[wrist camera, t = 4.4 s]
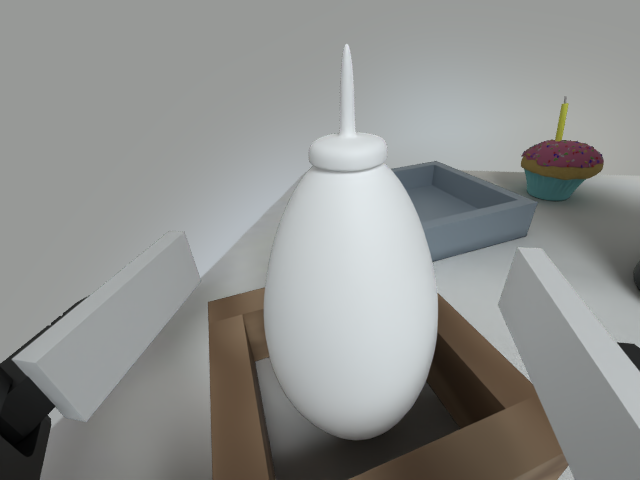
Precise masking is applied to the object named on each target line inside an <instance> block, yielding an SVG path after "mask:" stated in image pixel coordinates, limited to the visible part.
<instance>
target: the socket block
mask: <svg viewBox="0 0 640 480" xmlns="http://www.w3.org/2000/svg"><path fill="white" fill-rule="evenodd" d="M264 293H265V288H261V289H257V290H253V291H249V292H245V293H242V294H238V295H234V296H230V297H226V298H222V299H218V300H214V301H210V302H208V321H209V360H210V399H211V438H212V477H213V480H276V477H275V471H274V466H273V460H272V455H271V449H270V444H269V438H268V432H267V427H266V421H265V416H264V410H263V404H262V399H261V393H260V388H259V382H258V376H257V371H256V365H255V361H258V360H261V359H264V358H267V357H270V356H269V351H268V346H267V341H266V336H265V329H264ZM437 295H438V326H437V339H436V346H435V351H434V356H433V359H432V363H431V366H430V370H429V373H428V377H427V379H426V381H427V382H428V384H429V385H430V387H431V388H432V389H433V391H434V392H435V394H436V395H437V396H438V398H439V399H440V401H441V402H442V403H443V405H444V406H445V408H446V409H447V410H448V412H449V413H450V415H451V416H452V417H453V419H454V420H455V422H456V423H457V424H458V426H459V427H460V430H458V431H455V432H453V433H451V434H449V435H446V436H444V437H442V438H440V439H437V440H435V441H433V442H431V443H429V444H426V445H424V446H422V447H420V448H417V449H415V450H413V451H411V452H409V453H406V454H404V455H402V456H400V457H397V458H395V459H393V460H391V461H388V462H386V463H384V464H382V465H380V466H377V467H375V468H373V469H371V470H368V471H366V472H364V473H362V474H359V475H357V476H355V477H353V478H351V479H348V480H557V479H558V478H559V477H560V475H561V474H562V473H563V472H564V470H565V469H566V468H567V467H568V463H567V460H566V458H565V456H564V454H563V451H562V449H561V447H560V445H559V442H558V440H557V438H556V435H555V433H554V431H553V429H552V426H551V424H550V422H549V420H548V417H547V415H546V413H545V411H544V408H543V406H542V404H541V401H540V399H539V397H538V395H537V392H536V390H535V388H534V386H533V384H532V383H531V382H530V381H529V380H528V379H527V378H526V377H525V376H524V375H523V374H522V373H520V372H519V371H518V370H517V369H516V368H515V367H514V366H513V365H512V364H511V363H510V362H509V361H508V360H507V359H506V358H505V357H504V356H503V355H502V354H501V353H500V352H499V351H498V350H497V349H496V348H494V347H493V346H492V345H491V344H490V343H489V342H488V341H487V340H486V339H485V338H484V337H483V336H482V335H481V334H480V333H479V332H478V331H477V330H476V329H475V328H474V327H473V326H472V325H471V324H470V323H468V322H467V321H466V320H465V319H464V318H463V317H462V316H461V315H460V314H459V313H458V312H457V311H456V310H455V309H454V308H453V307H452V306H451V305H450V304H449V303H448V302H447V301H446V300H445V299H443V298H442V297H441V296H440V295H439V294H438V293H437Z"/></svg>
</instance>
